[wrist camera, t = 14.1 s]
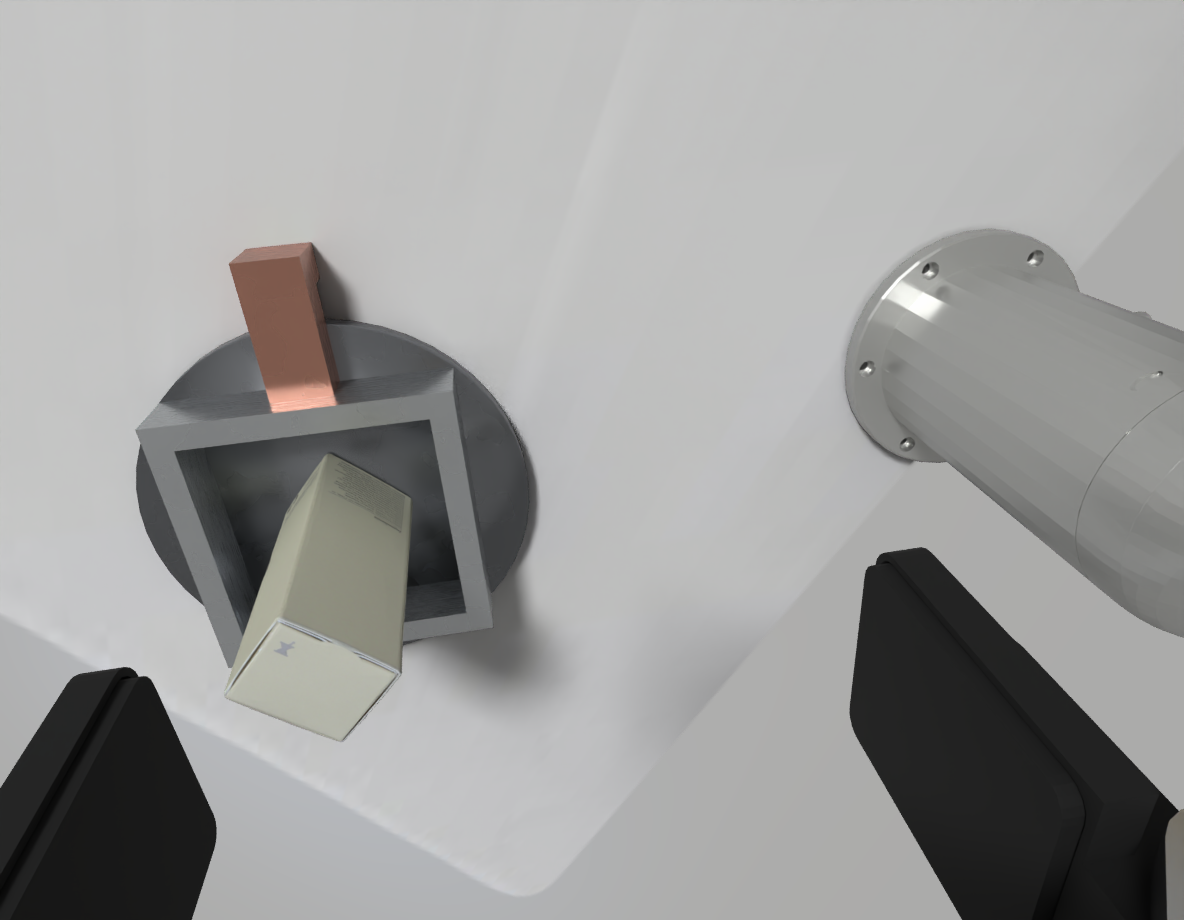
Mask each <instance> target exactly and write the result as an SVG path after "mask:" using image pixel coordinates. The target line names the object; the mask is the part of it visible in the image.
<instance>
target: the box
mask: <svg viewBox="0 0 1184 920" xmlns="http://www.w3.org/2000/svg"><path fill="white" fill-rule="evenodd" d="M412 509H413V501H412V499H411V498H410V497H408V496H407V495H405V494H403V493H402V492H400V491H398V490H397V489H395V488H393V487H391V486H390V485H388V484H386V483H384V482H383V481H381V480H379V479H377V478H375V477H374V476H372V475H370V474H368V473H366V472H364V471H363V470H361V469H359V468H357V467H355V466H353V465H352V464H350V463H348V462H346V461H344V460H342V459H340V458H338V457H336V456H334V455H332V454H329V453H328V454H326V455H325V456H324V458H323V459H322V461H321V462H320V463H319V465H318V466H317V467H316V469H315V470H314V472H313V473H312V474H311V476H310V477H309V479H308V480H307V481H306V483H305V484H304V486H303V487H302V489H301V490H300V492H299V493H298V495H297V496H296V498H295V499H294V501H293V502H292V504H291V506H290V507H289V509H288V510H287V512H286V514H285V517H284V521H283V524H282V527H281V529H280V532H279V535H278V538H277V541H276V544H275V547H274V549H273V552H272V555H271V559H270V561H269V564H268V567H267V569H266V573H265V576H264V578H263V581H262V584H261V587H260V589H259V592H258V595H257V598H256V601H255V604H254V607H253V610H252V613H251V616H250V619H249V621H248V624H247V627H246V630H245V633H244V636H243V638H242V641H241V644H240V647H239V650H238V653H237V656H236V659H235V662H234V665H233V668H232V671H231V674H230V677H229V680H228V683H227V686H226V689H225V692H224V696H225V698H227V699H229V700H231V701H233V702H236V703H238V704H241V705H243V706H246V707H248V708H250V709H253V710H255V711H258V712H261V713H263V714H265V715H268V716H271V717H273V718H276V719H278V720H281V721H284V722H286V723H289V724H291V725H294V726H296V727H299V728H302V729H305V730H307V731H310V732H313V733H316V734H319V735H321V736H324V737H327V738H330V739H333V740H336V741H338V742H343V741H345V740H346V739H347V737H348V736H349V735H350V734H351V733H352V732H353V730H354V729H355V728H356V727H357V726H358V725H359V724H360V723H361V722H362V721H363V720H364V719H365V717H366V716H367V715H368V713H369V712H370V711H371V710H372V709H373V708H374V707H375V706H376V705H377V704H378V703H379V701H380V700H381V699H382V698H383V697H384V695H385V694H386V693H387V692H388V690H389V689H390V688H391V687H392V686H393V684H394V683H395V682H396V681H397V680H398V678H399V677H400V676H401V674H402V649H403V633H404V619H405V604H406V591H407V576H408V562H409V549H410V536H411V523H412Z"/></svg>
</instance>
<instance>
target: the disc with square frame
mask: <svg viewBox="0 0 1184 920" xmlns="http://www.w3.org/2000/svg"><path fill="white" fill-rule="evenodd" d="M229 266H230V270H231V273H232V276H233V280H234V283H235V287H236V290H237V293H238V297H239V300H240V304H241V307H242V310H243V314H244V317H245V321H246V324H247V327H248V331H249V332H248V333H245V334H243V335H241V336H238V337H236V338H234V339H232V340H230V341H228V342H226V343H224V344H222V345H220V346H219V347H217V348H216V349H214V350H213V351H211V352H210V353H208V354H207V355H205V356H203V357H202V358H200V359H199V360H198V361H197V362H196V363H195V364H194V365H193V366H192V367H191V368H189V369H188V370H187V371H186V372H185V373H184V374H183V375H182V376H181V377H180V378H179V379H178V380H177V381H176V382H175V384H174V385H173V386H172V387H171V389H170V390H169V391H168V392H167V394H166V395H165V396H164V397H163V399H162V400H161V401H160V402H159V404H158V405H157V407H156V408H155V409H154V410H153V411H152V412H151V413H150V414H149V415H148V417H147V418H146V419H145V420H144V421H143V422H142V423H141V424H140V425H139V427H138V428H137V429H136V433H137V435H138V438H139V441H140V443H141V444H140V449H139V455H138V461H137V467H136V490H137V497H138V503H139V509H140V513H141V516H142V519H143V523H144V526H145V529H146V532H147V534H148V536H149V538H150V540H151V542H152V544H153V546H154V548H155V550H156V552H157V554H158V555H159V557H160V558H161V560H162V561H163V563H164V564H165V566H166V567H167V569H168V570H169V571H170V573H171V574H172V575H173V576H174V577H175V578H176V580H177V581H178V582H179V583H180V584H181V585H182V586H183V587H184V588H185V590H187V591H188V592H189V593H190V594H191V595H192V596H193V597H195V598H196V599H197V600H198V601H199V602H200V603H201V604H203V605H204V606H205V609H206V612H207V614H208V617H209V619H210V622H211V624H212V627H213V629H214V632H215V635H216V637H217V640H218V642H219V645H220V647H221V650H222V652H223V655H224V658H225V660H226V663H227V665H228V668H232V667H233V665H234V662H235V659H236V656H237V653H238V650H239V647H240V644H241V641H242V638H243V636H244V633H245V630H246V627H247V624H248V621H249V619H250V616H251V613H252V610H253V607H254V604H255V601H256V598H257V595H258V592H259V589H260V587H261V584H262V581H263V578H264V576H265V573H266V569H267V567H268V564H269V561H270V559H271V555H272V552H273V549H274V547H275V544H276V541H277V538H278V535H279V532H280V529H281V527H282V524H283V521H284V517H285V514H286V512H287V510H288V509H289V507H290V506H291V504H292V502H293V501H294V499H295V498H296V496H297V495H298V493H299V492H300V490H301V489H302V487H303V486H304V484H305V483H306V481H307V480H308V479H309V477H310V476H311V474H312V473H313V472H314V470H315V469H316V467H317V466H318V465H319V463H320V462H321V461H322V459H323V458H324V456H325V455H326V454H328V453H329V454H332V455H334V456H336V457H338V458H340V459H342V460H344V461H346V462H348V463H350V464H352V465H353V466H355V467H357V468H359V469H361V470H363V471H364V472H366V473H368V474H370V475H372V476H374V477H375V478H377V479H379V480H381V481H383V482H384V483H386V484H388V485H390V486H391V487H393V488H395V489H397V490H398V491H400V492H402V493H403V494H405V495H407V496H408V497H410V498H411V499H412V501H413V509H412V523H411V536H410V549H409V562H408V576H407V591H406V604H405V619H404V633H403V645H405V644H408V643H411V642H414V641H417V640H420V639H423V638H429V637H435V636H442V635H448V634H455V633H462V632H468V631H475V630H481V629H488V628H493V614H492V592H493V591H494V590H495V588H496V587H497V586H498V585H499V583H500V582H501V581H502V580H503V578H504V577H505V575H506V574H507V572H508V570H509V569H510V567H511V565H512V564H513V562H514V560H515V558H516V556H517V553H518V551H519V548H520V546H521V544H522V541H523V537H524V533H525V529H526V525H527V519H528V508H529V491H528V478H527V472H526V467H525V462H524V457H523V452H522V450H521V447H520V444H519V441H518V439H517V436H516V433H515V431H514V429H513V427H512V425H511V423H510V422H509V420H508V418H507V416H506V414H505V412H504V411H503V409H502V408H501V407H500V405H499V404H498V403H497V401H496V400H495V398H494V397H493V396H492V394H491V393H490V392H489V391H488V390H487V389H486V388H485V387H484V386H483V385H482V384H481V383H480V382H479V380H478V379H477V378H476V377H475V376H474V375H473V374H471V373H470V372H469V371H468V370H466V369H465V368H464V367H463V366H461V365H460V364H459V363H458V362H456V361H455V360H454V359H452V358H451V357H449V356H447V355H446V354H444V353H443V352H441V351H439V350H438V349H436V348H434V347H433V346H431V345H429V344H427V343H424V342H422V341H420V340H418V339H416V338H414V337H411V336H409V335H407V334H404V333H401V332H398V331H395V330H391V329H388V328H385V327H382V326H378V325H373V324H367V323H362V322H357V321H349V320H335V319H325V318H324V314H323V310H322V306H321V302H320V298H319V293H318V289H317V285H316V283H317V282H318V280H319V279H320V276H319V272H318V268H317V264H316V260H315V256H314V251H313V247H312V243H311V242H310V243H300V244H290V245H281V246H271V247H261V248H252V249H246V250H244V251H243V252H242V253H241V254H240V255H239V256H237V257H236V258H235V259H234V260H233V261H232V262H230V263H229Z"/></svg>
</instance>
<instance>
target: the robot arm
mask: <svg viewBox="0 0 1184 920" xmlns="http://www.w3.org/2000/svg"><path fill="white" fill-rule="evenodd" d="M924 266H925V267H924ZM923 268H924V269H923ZM862 364H863V365H862ZM861 365H862V366H861ZM845 380H846V392H847V395H848V399H849V402H850V406H851V409H852V411H853V413H854V415H855V416H856V418H857V420H858V422H859V424H860V425H861V426H862V427H863V428H864V429H865V431H866V432H867V433H868V434H869V435H870V436H871V437H872V438H873V439H874V440H875V441H877V442H878V443H879V444H880V445H882V446H883V447H884V448H885V449H886V450H888V451H890V452H892V453H894V454H896V455H898V456H900V457H903V458H907V459H911V460H915V461H919V462H936V463H937V462H938V463H940V462H948V463H949V464H950V465H952V466H953V467H954V468H955V469H956V470H957V471H959V472H960V473H961V474H962V475H963V476H965V477H966V478H967V479H968V480H969V481H971V482H972V483H973V484H974V485H976V486H977V487H978V488H979V489H980V490H981V491H983V492H984V493H985V494H986V495H987V496H989V497H990V498H991V499H992V500H994V501H995V502H996V503H997V504H998V505H1000V506H1001V507H1002V508H1003V509H1004V510H1006V511H1007V512H1008V513H1009V514H1010V515H1011V516H1013V517H1014V518H1015V519H1016V520H1017V521H1019V522H1020V523H1021V524H1022V525H1023V526H1025V527H1026V528H1027V529H1028V530H1030V531H1031V532H1032V533H1033V534H1034V535H1036V536H1037V537H1038V538H1039V539H1040V540H1041V541H1043V542H1044V543H1045V544H1046V545H1048V546H1049V547H1050V548H1051V549H1052V550H1053V551H1055V552H1056V553H1057V554H1058V555H1060V556H1061V557H1062V558H1063V559H1065V560H1066V561H1067V562H1068V563H1069V564H1070V565H1072V566H1073V567H1074V568H1075V569H1076V570H1078V571H1079V572H1080V573H1081V574H1082V575H1084V576H1085V577H1086V578H1087V579H1088V580H1090V581H1091V582H1092V583H1093V584H1094V585H1096V586H1097V587H1098V588H1099V589H1100V590H1102V591H1103V592H1104V593H1106V594H1107V595H1108V596H1109V597H1110V598H1111V599H1113V600H1114V601H1115V602H1116V603H1118V604H1119V605H1120V606H1121V607H1123V608H1124V609H1126V610H1127V611H1128V612H1130V613H1131V614H1133V615H1134V616H1136V617H1137V618H1139V619H1141V620H1143V621H1145V622H1146V623H1149V624H1150V625H1152V626H1154V627H1156V628H1159V629H1161V630H1163V631H1166V632H1169V633H1172V634H1174V635H1177V636H1180V637H1183V638H1184V331H1181V330H1179V329H1176V328H1173V327H1171V326H1168V325H1165V324H1163V323H1160V322H1157V321H1155V320H1152V318H1151V316H1150V315H1149V314H1147V313H1146V312H1131V311H1128V310H1126V309H1123V308H1120V307H1118V306H1115V305H1112V304H1110V303H1107V302H1104V301H1102V300H1099V299H1096V298H1094V297H1091V296H1088V295H1085V294H1083V293H1080V292H1079V289H1078V286H1077V283H1076V280H1075V277H1074V275H1073V273H1072V272H1071V270H1070V268H1069V267H1068V265H1067V264H1066V262H1065V261H1064V259H1063V258H1062V257H1061V256H1059V255H1058V254H1057V253H1056V252H1055V251H1054V250H1053V249H1052V248H1050V247H1049V246H1048V245H1046V244H1044V243H1042V242H1040V241H1038V240H1036V239H1034V238H1032V237H1029V236H1026V235H1022V234H1019V233H1016V232H1012V231H1006V230H996V229H983V230H973V231H966V232H962V233H959V234H956V235H953V236H949V237H946V238H943V239H941V240H939V241H937V242H935V243H933V244H931V245H929V246H927V247H925V248H924V249H922V250H920V251H919V252H917V253H916V254H914V255H913V256H912V257H910V258H909V259H908V260H906V261H905V262H904V263H902V264H901V265H899V267H898V268H897V269H896V270H895V271H894V272H893V273H892V274H891V275H890V276H889V277H888V278H887V279H886V280H885V281H884V282H883V283H882V284H881V285H880V286H879V288H878V289H877V290H876V292H875V293H874V294H873V296H872V297H871V298H870V300H869V301H868V303H867V304H866V306H865V308H864V310H863V312H862V314H861V315H860V317H859V319H858V321H857V323H856V325H855V328H854V331H853V334H852V337H851V340H850V343H849V346H848V351H847V358H846V366H845ZM850 719H851V723H852V727H853V730H854V733H855V735H856V737H857V739H858V740H859V742H860V744H861V746H862V747H863V749H864V751H865V752H866V754H867V756H868V757H869V759H870V761H871V763H872V765H873V766H874V768H875V770H876V771H877V773H878V775H879V777H880V778H881V780H882V782H883V784H884V785H885V787H886V789H887V791H888V792H889V794H890V796H891V797H892V799H893V801H894V803H895V804H896V806H897V808H898V810H899V811H900V813H901V815H902V817H903V818H904V820H905V822H906V823H907V825H908V827H909V829H910V830H911V832H912V834H913V836H914V837H915V839H916V841H917V842H918V844H919V846H920V848H921V849H922V851H923V853H924V855H925V856H926V858H927V860H928V861H929V863H930V865H931V867H932V868H933V870H934V872H935V874H936V875H937V877H938V879H939V881H940V882H941V884H942V886H943V887H944V889H945V891H946V893H947V894H948V896H949V898H950V900H951V901H952V903H953V905H954V907H955V908H956V910H957V911H958V913H959V915H960V917H961V919H962V920H1184V809H1182V810H1180V811H1178V810H1177V809H1176V808H1175V806H1173V804H1172V803H1171V802H1170V801H1169V800H1168V799H1167V798H1166V797H1165V796H1164V795H1163V794H1162V793H1161V792H1160V791H1159V790H1158V789H1157V788H1156V787H1155V785H1154V784H1153V783H1151V781H1150V780H1149V779H1148V778H1147V777H1146V776H1145V775H1144V774H1143V773H1142V772H1141V771H1140V770H1139V769H1138V768H1137V767H1136V766H1135V764H1134V763H1133V762H1132V761H1131V760H1130V759H1129V758H1128V757H1127V756H1126V755H1125V754H1124V753H1123V752H1122V751H1121V750H1120V749H1119V748H1118V747H1117V746H1116V744H1115V743H1114V742H1113V741H1112V740H1111V739H1110V738H1109V737H1108V736H1107V735H1106V734H1105V733H1104V732H1103V731H1102V730H1101V729H1100V728H1099V727H1098V725H1097V724H1096V723H1095V722H1094V721H1093V720H1092V719H1091V718H1090V717H1089V716H1088V715H1087V714H1086V713H1085V712H1084V711H1083V710H1082V709H1081V708H1080V707H1079V706H1078V705H1077V703H1076V702H1075V701H1073V699H1072V698H1071V697H1070V696H1069V695H1068V694H1067V693H1066V692H1065V691H1064V690H1063V689H1062V688H1061V687H1060V686H1059V685H1058V683H1057V682H1056V681H1055V680H1054V679H1053V678H1052V677H1051V676H1050V675H1049V674H1048V673H1047V672H1046V671H1045V670H1044V669H1043V668H1042V667H1041V666H1040V664H1038V662H1037V661H1036V660H1035V659H1034V658H1033V657H1032V656H1031V655H1030V654H1029V653H1028V652H1027V651H1026V650H1025V649H1024V648H1023V647H1022V646H1021V645H1020V644H1019V643H1017V642H1016V641H1015V640H1014V639H1013V638H1012V637H1011V636H1010V635H1009V634H1008V633H1007V632H1006V631H1005V630H1004V629H1003V628H1002V627H1001V626H1000V625H999V624H998V622H996V620H995V619H994V618H993V617H992V616H991V615H990V614H989V613H988V612H987V611H986V610H985V609H984V608H983V607H982V606H981V605H980V604H979V602H978V601H977V600H976V599H975V598H974V597H973V596H972V595H971V594H970V593H969V592H968V591H967V590H966V589H965V588H964V587H963V586H962V584H961V583H960V582H959V581H958V580H957V579H956V578H955V577H954V576H953V575H952V574H951V573H950V572H949V571H948V570H947V569H946V568H945V567H944V565H943V564H942V563H941V562H940V561H939V560H938V559H937V558H936V557H935V556H934V555H933V554H932V553H931V552H930V551H929V550H927V549H926V548H922V547H920V548H913V549H907V550H901V551H893V552H887V553H883V554H881V555H880V556H879V557H878V558H877V561H876V565H873V566H870V567H868V568H867V570H866V573H865V579H864V589H863V597H862V606H861V614H860V623H859V632H858V640H857V649H856V658H855V667H854V675H853V684H852V692H851V701H850ZM215 843H216V821H215V818H214V815H213V813H212V810H211V808H210V806H209V804H208V802H207V799H206V797H205V795H204V793H203V791H202V789H201V786H200V784H199V782H198V780H197V778H196V775H195V773H194V771H193V769H192V767H191V765H190V762H189V760H188V758H187V756H186V754H185V751H184V749H183V747H182V745H181V743H180V741H179V738H178V736H177V734H176V732H175V730H174V727H173V725H172V723H171V721H170V719H169V717H168V714H167V712H166V710H165V708H164V706H163V703H162V701H161V699H160V697H159V695H158V693H157V690H156V688H155V686H154V684H153V682H152V681H151V679H149V678H148V677H146V676H142V677H138V675H137V673H136V672H135V671H134V670H133V669H131V668H128V667H122V668H116V669H109V670H102V671H96V672H90V673H82V674H78V675H76V676H74V677H73V678H72V679H71V680H70V681H69V682H68V683H67V685H66V687H65V688H64V690H63V691H62V693H61V694H60V696H59V698H58V699H57V701H56V702H55V704H54V705H53V707H52V708H51V710H50V712H49V713H48V715H47V716H46V718H45V720H44V721H43V722H42V724H41V726H40V728H39V729H38V730H37V732H36V734H35V735H34V737H33V738H32V740H31V741H30V743H29V744H28V746H27V747H26V749H25V751H24V752H23V754H22V755H21V757H20V759H19V760H18V762H17V763H16V765H15V766H14V768H13V769H12V771H11V773H10V774H9V776H8V777H7V779H6V780H5V782H4V783H3V785H2V787H1V788H0V920H192V917H193V913H194V911H195V907H196V904H197V901H198V898H199V895H200V892H201V889H202V886H203V883H204V879H205V876H206V873H207V870H208V867H209V864H210V861H211V858H212V854H213V851H214V847H215Z"/></svg>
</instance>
